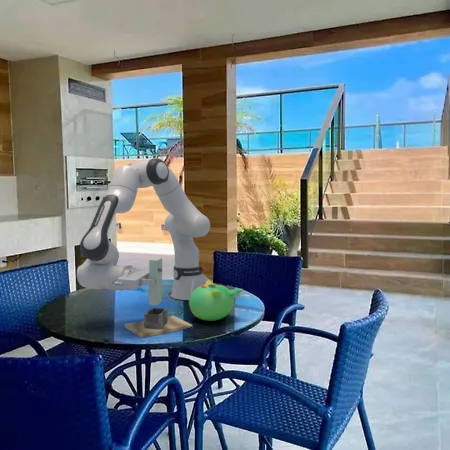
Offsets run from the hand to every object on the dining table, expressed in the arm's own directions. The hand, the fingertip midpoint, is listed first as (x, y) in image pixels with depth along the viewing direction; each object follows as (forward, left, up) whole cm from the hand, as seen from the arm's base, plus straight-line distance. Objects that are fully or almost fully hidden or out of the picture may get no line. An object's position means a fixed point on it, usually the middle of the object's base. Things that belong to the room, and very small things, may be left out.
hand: (158, 279), depth 168 cm
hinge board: (0, -1, -18) cm, 18 cm away
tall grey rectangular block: (+1, -1, -8) cm, 9 cm away
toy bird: (-22, +1, -18) cm, 29 cm away
